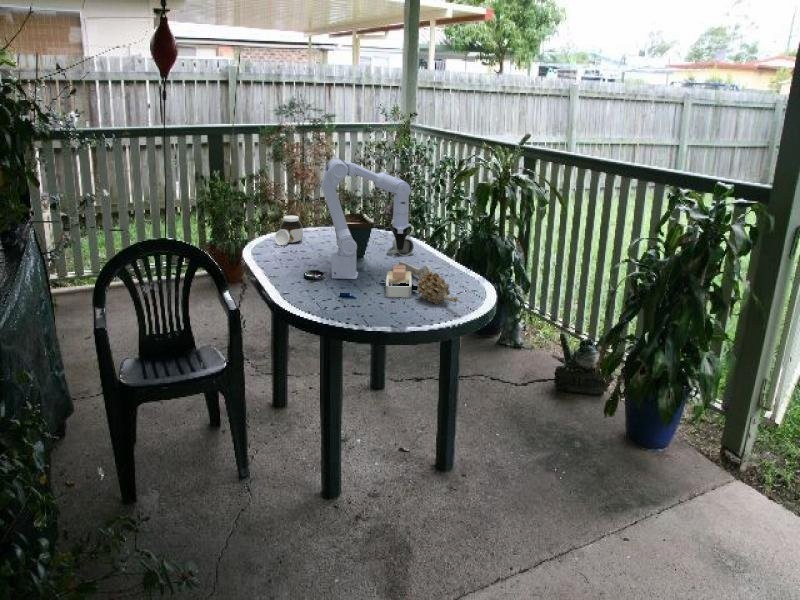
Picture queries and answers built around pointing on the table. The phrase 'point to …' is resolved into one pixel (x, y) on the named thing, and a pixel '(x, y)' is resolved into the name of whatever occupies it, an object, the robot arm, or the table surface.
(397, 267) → the tile
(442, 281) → the pine cone
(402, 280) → the board
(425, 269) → the wrench
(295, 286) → the table surface
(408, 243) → the ceramic mug
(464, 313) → the table surface
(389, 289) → the tray
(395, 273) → the tile
